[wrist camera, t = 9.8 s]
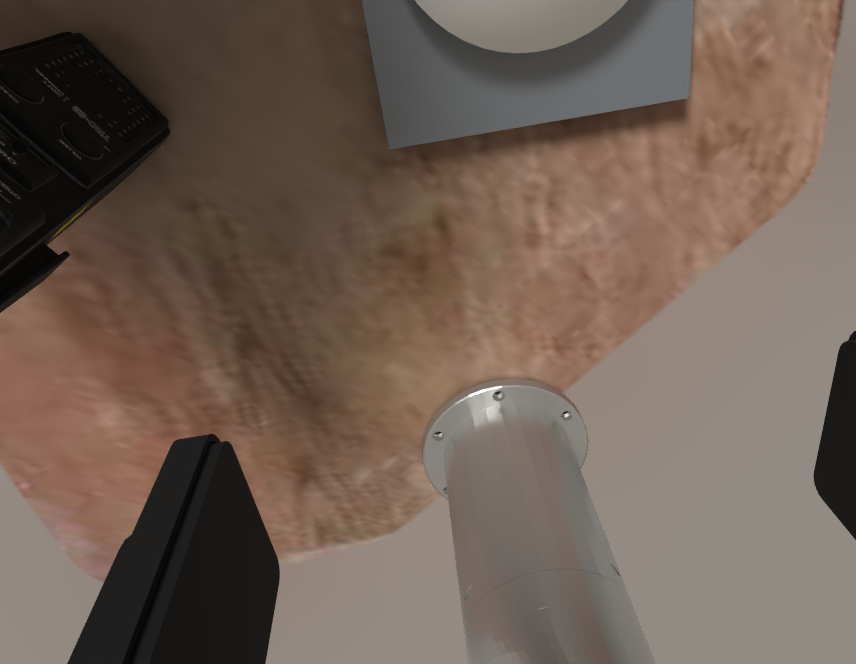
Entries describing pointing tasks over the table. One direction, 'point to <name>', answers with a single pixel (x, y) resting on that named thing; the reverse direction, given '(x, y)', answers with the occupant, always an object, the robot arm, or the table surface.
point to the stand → (522, 71)
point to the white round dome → (520, 21)
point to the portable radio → (62, 148)
